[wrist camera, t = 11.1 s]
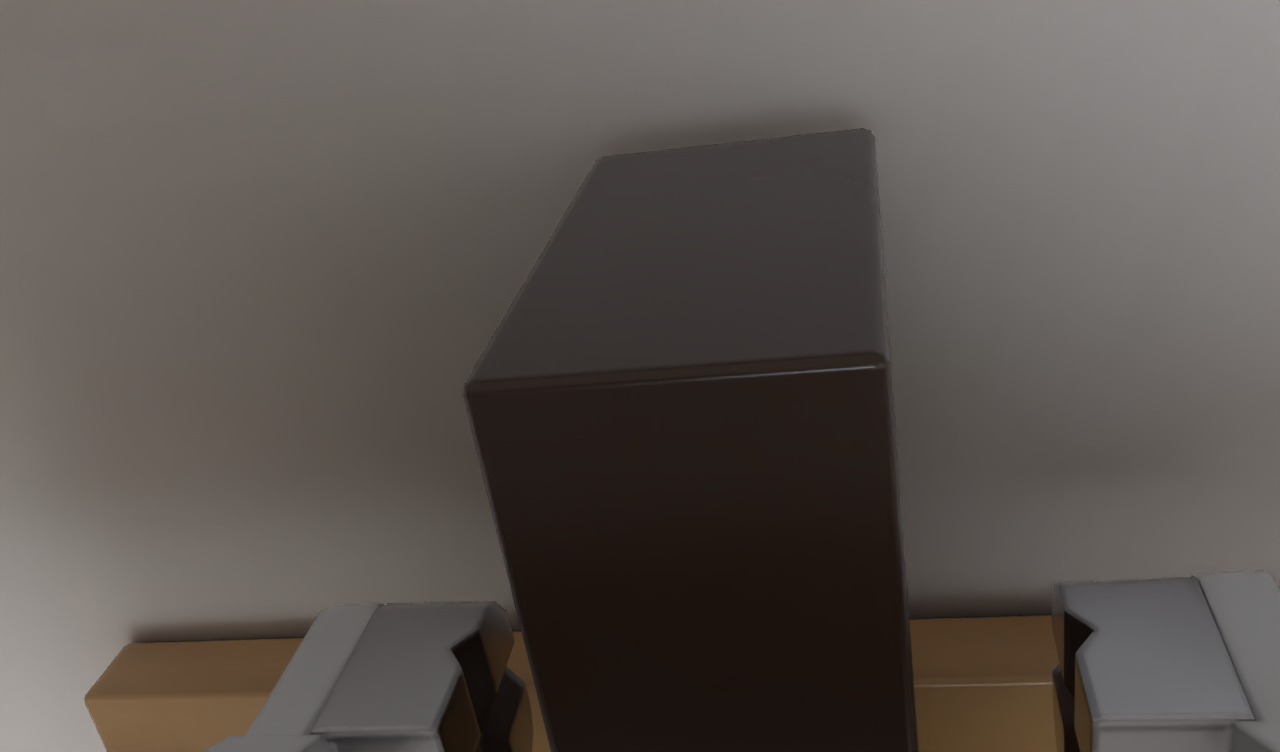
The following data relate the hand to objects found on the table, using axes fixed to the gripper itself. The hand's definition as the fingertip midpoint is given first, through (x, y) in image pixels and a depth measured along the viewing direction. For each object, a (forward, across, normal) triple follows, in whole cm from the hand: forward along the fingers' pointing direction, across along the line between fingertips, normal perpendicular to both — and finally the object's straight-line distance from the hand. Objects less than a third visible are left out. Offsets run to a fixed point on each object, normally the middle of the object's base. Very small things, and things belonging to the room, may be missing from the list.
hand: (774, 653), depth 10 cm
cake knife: (+2, 0, +6) cm, 6 cm away
